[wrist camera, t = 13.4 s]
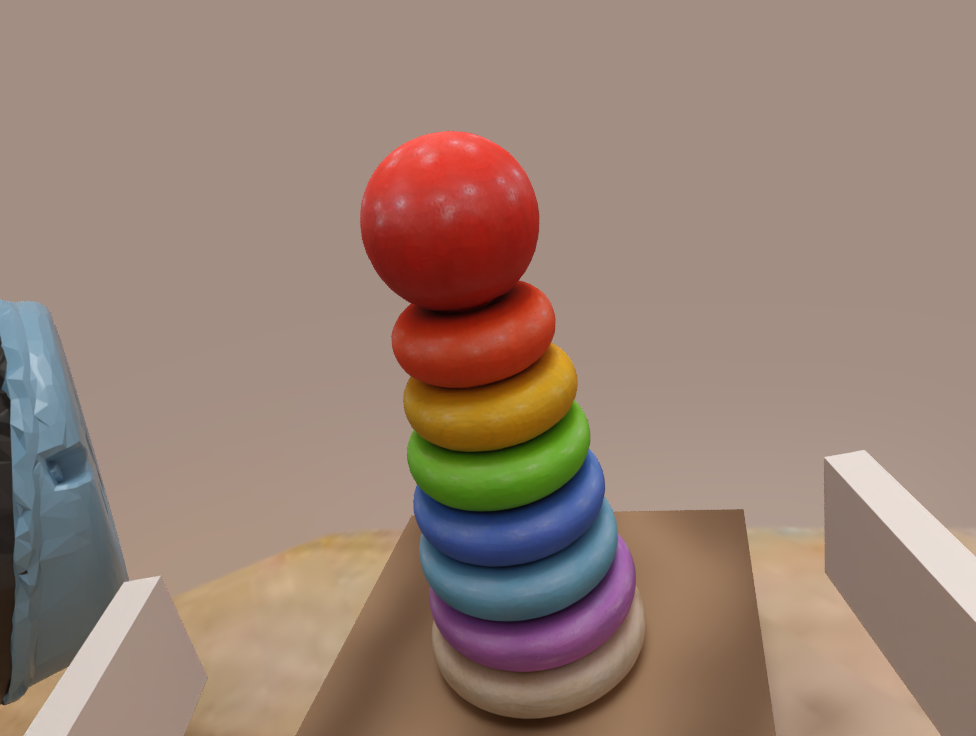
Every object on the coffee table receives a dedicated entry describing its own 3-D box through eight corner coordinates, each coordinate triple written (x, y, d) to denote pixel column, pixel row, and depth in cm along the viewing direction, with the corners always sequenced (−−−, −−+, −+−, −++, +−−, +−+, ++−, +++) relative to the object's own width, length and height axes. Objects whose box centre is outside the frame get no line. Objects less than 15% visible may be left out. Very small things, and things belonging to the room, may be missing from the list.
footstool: (304, 935, 25) (250, 821, 23) (436, 606, 39) (411, 515, 37) (801, 1018, 21) (797, 886, 18) (749, 612, 35) (743, 509, 32)
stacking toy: (422, 605, 30) (294, 151, 23) (599, 549, 32) (531, 100, 24) (462, 765, 23) (294, 177, 16) (688, 683, 24) (630, 103, 17)
